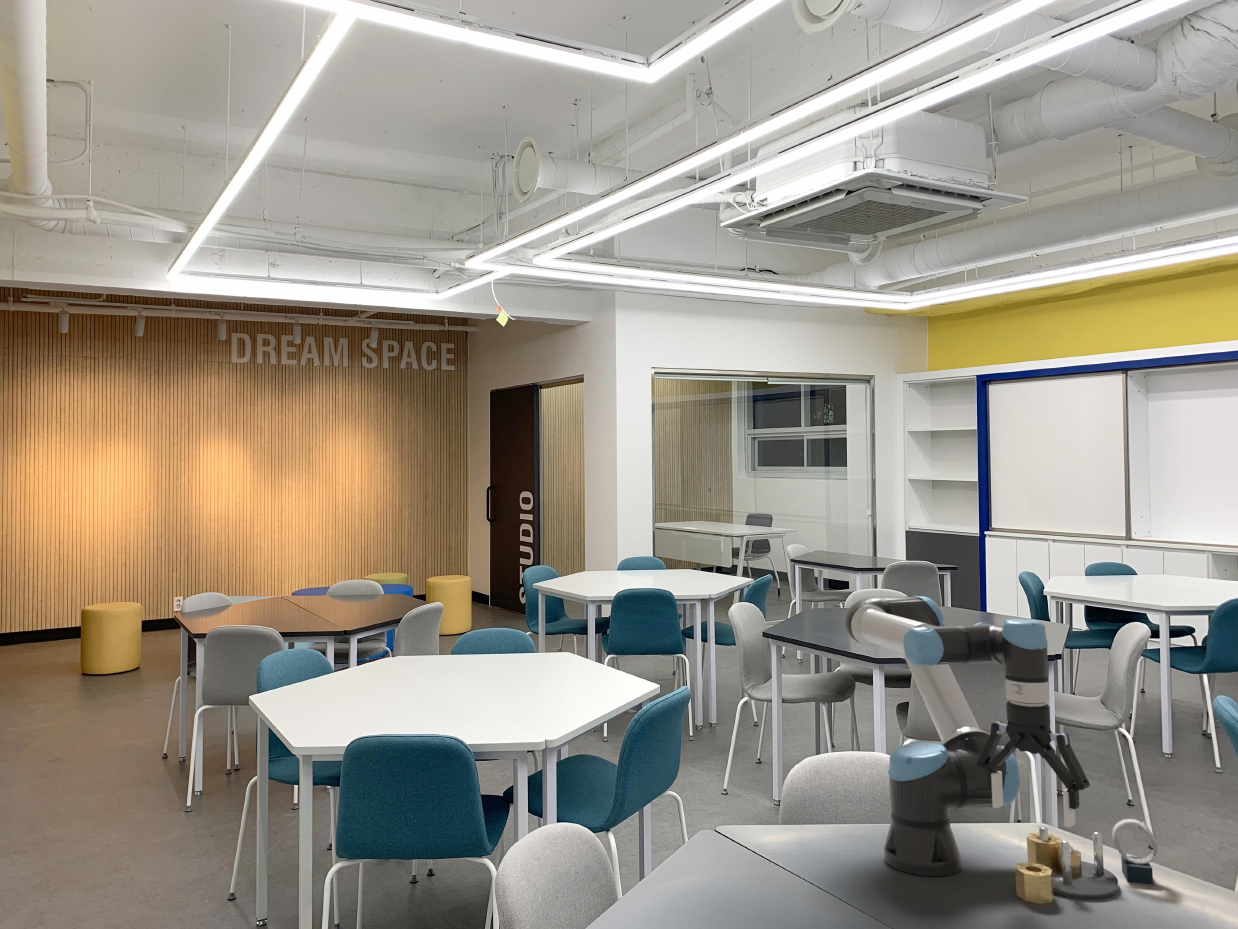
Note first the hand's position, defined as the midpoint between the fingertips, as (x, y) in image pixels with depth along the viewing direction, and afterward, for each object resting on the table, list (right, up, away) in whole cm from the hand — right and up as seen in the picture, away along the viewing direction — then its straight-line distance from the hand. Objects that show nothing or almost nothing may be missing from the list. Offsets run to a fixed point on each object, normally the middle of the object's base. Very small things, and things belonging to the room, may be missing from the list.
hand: (1032, 816), depth 161 cm
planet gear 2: (0, -15, -1) cm, 15 cm away
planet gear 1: (+7, -14, +10) cm, 19 cm away
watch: (+24, -15, +6) cm, 29 cm away
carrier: (+10, -15, +5) cm, 19 cm away
